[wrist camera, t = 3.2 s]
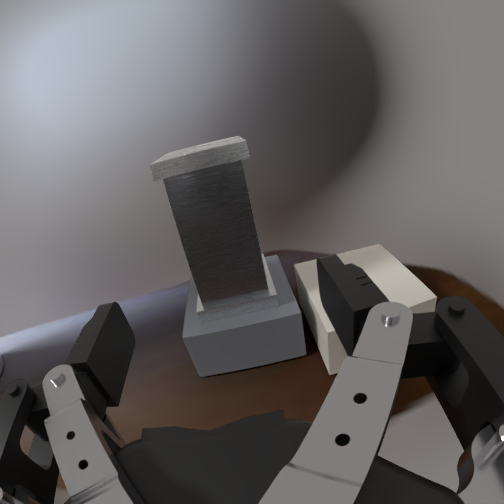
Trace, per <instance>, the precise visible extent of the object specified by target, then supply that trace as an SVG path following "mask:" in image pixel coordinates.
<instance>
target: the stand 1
mask: <svg viewBox="0 0 504 504" xmlns="http://www.w3.org/2000/svg"><path fill="white" fill-rule="evenodd" d="M265 260H266V263H267V266H268V269H269V272H270V275H271V278H272V281H273V284H274V287H275V290H276V294H277V298H278V303H279V307H275V308H271V309H266V310H262V311H257V312H253V313H248V314H244V315H239V316H235V317H230V318H225V319H220V320H216V321H211V322H206V323H200V321H199V318H198V315H197V312H196V311H197V299H198V291H197V288H196V285H195V282H194V279H193V276H192V274H191V277H190V284H189V290H188V297H187V305H186V312H185V319H184V327H183V335H182V339H183V341H184V344H185V346H186V348H187V350H188V352H189V355H190V357H191V359H192V361H193V363H194V365H195V367H196V370H197V372H198V374H199V376H200V377H204V376H210V375H216V374H221V373H227V372H232V371H237V370H242V369H247V368H252V367H257V366H262V365H266V364H271V363H275V362H279V361H284V360H288V359H292V358H296V357H300V356H304V355H307V354H306V346H305V338H304V330H303V322H302V315H301V311H300V309H299V306H298V304H297V301H296V299H295V296H294V294H293V292H292V289H291V287H290V284H289V282H288V280H287V277H286V275H285V273H284V270H283V268H282V265H281V263H280V261H279V258H278V256H277V255H273V256H269V257H265Z"/></svg>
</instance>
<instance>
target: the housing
mask: <svg viewBox="0 0 504 504" xmlns="http://www.w3.org/2000/svg"><path fill="white" fill-rule="evenodd" d="M247 158H250V157H249V152H248V148H247V142H246V140H244V139H243V138H241V137H240V136H236V137H231V138H226V139H222V140H218V141H214V142H209V143H205V144H201V145H197V146H193V147H189V148H185V149H181V150H178V151H174V152H170V153H168V154H166V155H164V156H163V157H161V158H160V159H158V160H156V161H155V162H154V163H152V164H150V169H151V173H152V176H153V180H154V181H158V180H162V179H163V180H164V184H165V187H166V191H167V195H168V198H169V202H170V205H171V209H172V212H173V216H174V219H175V222H176V226H177V229H178V232H179V235H180V239H181V242H182V245H183V248H184V251H185V255H186V258H187V261H188V264H189V267H190V270H191V273H192V276H193V279H194V282H195V285H196V288H197V291H198V299H197V311H196V312H197V315H198V318H199V321H200V323H206V322H211V321H216V320H220V319H225V318H230V317H235V316H239V315H244V314H248V313H253V312H257V311H262V310H266V309H271V308H275V307H279V303H278V298H277V294H276V290H275V287H274V284H273V281H272V278H271V275H270V272H269V269H268V266H267V263H266V260H265V257H264V254H261V251H260V246H259V241H258V236H257V231H256V227H255V222H254V217H253V212H252V208H251V203H250V198H249V194H248V188H247V184H246V179H245V174H244V170H243V165H242V159H247Z"/></svg>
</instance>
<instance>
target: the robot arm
mask: <svg viewBox="0 0 504 504" xmlns="http://www.w3.org/2000/svg"><path fill="white" fill-rule="evenodd" d="M316 264H317V274H318V284H319V294H320V299H321V303H322V306H323V308H324V310H325V312H326V314H327V316H328V318H329V320H330V322H331V324H332V326H333V328H334V330H335V331H336V333H337V335H338V337H339V339H340V341H341V343H342V345H343V347H344V349H345V351H346V353H347V356H346V357H345V359H344V361H343V363H342V365H341V367H340V370H339V372H338V374H337V376H336V378H335V380H334V382H333V384H332V387H331V389H330V391H329V393H328V395H327V397H326V399H325V401H324V403H323V405H322V407H321V409H320V411H319V413H318V414H317V416H316V418H315V420H314V422H308V421H303V420H285V416H284V412H283V410H280V411H275V412H270V413H266V414H260V415H255V416H250V417H245V418H243V419H240V420H238V421H235V422H232V423H230V424H227V425H224V426H222V427H219V428H216V429H213V430H197V429H189V428H181V427H161V428H143V430H142V436H141V439H139V440H136V441H133V442H131V443H129V444H127V445H126V443H125V441H124V440H123V438H122V437H121V435H120V433H119V432H118V430H117V428H116V427H115V425H114V423H113V422H112V420H111V418H110V416H109V415H108V414H107V413H106V412H105V411H106V408H107V407H117V406H119V402H120V398H121V394H122V390H123V387H124V383H125V379H126V375H127V372H128V368H129V364H130V361H131V357H132V354H133V350H134V347H135V338H134V334H133V331H132V329H131V327H130V325H129V323H128V321H127V319H126V317H125V315H124V313H123V311H122V309H121V307H120V305H119V304H118V303H117V302H113V303H108V304H103V305H100V306H98V308H97V310H96V312H95V314H94V316H93V318H92V319H91V320H90V321H89V322H88V323H87V324H86V325H85V326H84V327H83V329H82V331H81V333H80V337H78V339H77V341H76V344H75V345H74V347H73V349H72V351H71V353H70V355H69V357H68V359H67V361H66V363H65V365H59V366H57V367H55V368H53V369H52V370H50V371H49V372H48V373H47V375H46V376H45V378H44V380H43V385H40V386H37V387H34V388H31V387H30V386H29V384H28V383H27V382H26V381H25V380H24V379H17V380H15V381H13V382H12V383H10V384H9V385H8V386H7V387H6V389H5V391H4V392H3V395H2V397H1V399H0V504H54V497H55V492H56V486H57V480H58V475H59V470H60V472H61V475H62V478H63V480H64V483H65V485H66V487H67V490H68V492H69V494H70V498H69V499H68V500H67V501H66V502H65V503H64V504H504V337H503V336H502V335H501V334H500V332H499V331H498V330H497V329H496V328H495V327H494V326H493V325H492V323H491V322H490V321H489V320H488V319H487V318H486V317H485V316H484V315H483V314H482V313H481V312H480V310H479V309H478V308H477V307H476V306H475V305H474V304H473V303H472V302H471V301H469V300H468V299H466V298H463V297H459V296H448V297H445V298H443V299H441V300H440V301H439V302H438V303H437V306H436V312H427V313H412V312H411V310H410V309H409V308H408V307H407V306H405V305H404V304H401V303H398V302H390V301H389V300H388V298H387V297H386V296H385V295H384V294H383V292H382V291H381V290H380V289H379V288H378V286H377V285H376V284H375V283H373V281H372V279H371V278H370V277H368V275H367V274H366V272H365V271H364V270H363V269H362V268H360V267H358V266H356V265H354V264H352V263H350V264H346V265H345V264H344V263H343V262H342V261H341V259H340V258H339V257H338V256H337V255H336V254H333V255H329V256H325V257H321V258H317V260H316ZM3 365H4V362H3V358H2V357H1V355H0V375H1V373H2V370H3ZM423 376H425V377H426V379H427V381H428V383H429V384H430V386H431V388H432V390H433V392H434V393H435V395H436V397H437V399H438V401H439V402H440V404H441V406H442V408H443V410H444V412H445V414H446V415H447V417H448V419H449V421H450V423H451V425H452V427H453V429H454V431H455V433H456V435H457V437H458V439H459V441H460V443H461V445H462V447H463V449H464V452H463V453H462V455H461V456H460V458H459V461H458V465H457V471H458V476H459V487H458V490H457V493H455V492H454V491H452V490H451V489H449V488H447V487H445V486H443V485H440V484H438V483H435V482H433V481H431V480H428V479H426V478H424V477H421V476H419V475H417V474H415V473H413V472H410V471H408V470H406V469H404V468H402V467H400V466H398V465H396V464H394V463H392V462H390V461H388V460H386V459H384V458H382V457H380V456H378V452H379V450H380V447H381V444H382V441H383V438H384V435H385V433H386V429H387V426H388V423H389V420H390V417H391V414H392V410H393V407H394V404H395V400H396V397H397V393H398V389H399V386H400V382H401V379H405V378H415V377H423ZM25 425H26V426H27V427H28V428H29V429H30V430H31V431H32V432H33V433H34V434H35V436H34V439H33V442H32V446H31V449H30V452H29V456H27V455H25V454H24V453H23V451H22V450H21V448H20V438H21V435H22V432H23V429H24V426H25Z"/></svg>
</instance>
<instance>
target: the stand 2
mask: <svg viewBox="0 0 504 504" xmlns="http://www.w3.org/2000/svg"><path fill="white" fill-rule="evenodd" d="M336 255H337V256H338V257H339V258H340V259H341V261H342V262H343V263H344V264H345V265H346V264H350V263H352V264H354V265H356V266H358V267H360V268H362V269H363V270H364V271H365V272H366V274H367V275H368V277H370V278H371V279H372V281H373V283H375V284H376V285H377V286H378V288H379V289H380V290H381V291H382V292H383V294H384V295H385V296H386V297H387V298H388V300H389V301H390V302H398V303H401V304H404V305H405V306H407V307H408V308H409V309H410V310H411V312H412V313H427V312H434V311H435V306H436V300H437V296H436V295H435V294H434V293H433V292H431V291H430V290H429V289H428V288H427V287H426V286H425V285H424V284H423V283H422V282H421V281H420V280H419V279H418V278H417V277H416V276H415V275H414V274H412V273H411V272H410V271H409V270H408V269H407V268H406V267H405V266H404V265H403V264H402V263H400V262H399V261H398V260H397V259H396V258H395V257H394V256H393V255H392V254H390V253H389V252H388V251H387V250H386V249H385V248H384V247H382V246H381V245H380V244H376V245H372V246H369V247H365V248H360V249H356V250H352V251H348V252H344V253H340V254H336ZM316 260H317V259H315V260H311V261H307V262H302V263H298V264H294V268H295V275H296V282H297V289H298V296H299V303H300V305H301V308H302V310H303V312H304V315H305V317H306V320H307V322H308V324H309V327H310V329H311V331H312V334H313V336H314V339H315V341H316V344H317V346H318V348H319V351H320V353H321V356H322V358H323V361H324V363H325V365H326V368H327V370H328V373H329V375H332V374H336V373H338V372H339V370H340V367H341V365H342V363H343V361H344V359H345V357H346V356H347V353H346V351H345V349H344V347H343V345H342V343H341V341H340V339H339V337H338V335H337V333H336V331H335V330H334V328H333V326H332V324H331V322H330V320H329V318H328V316H327V314H326V312H325V310H324V308H323V306H322V303H321V299H320V294H319V284H318V274H317V264H316Z"/></svg>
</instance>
